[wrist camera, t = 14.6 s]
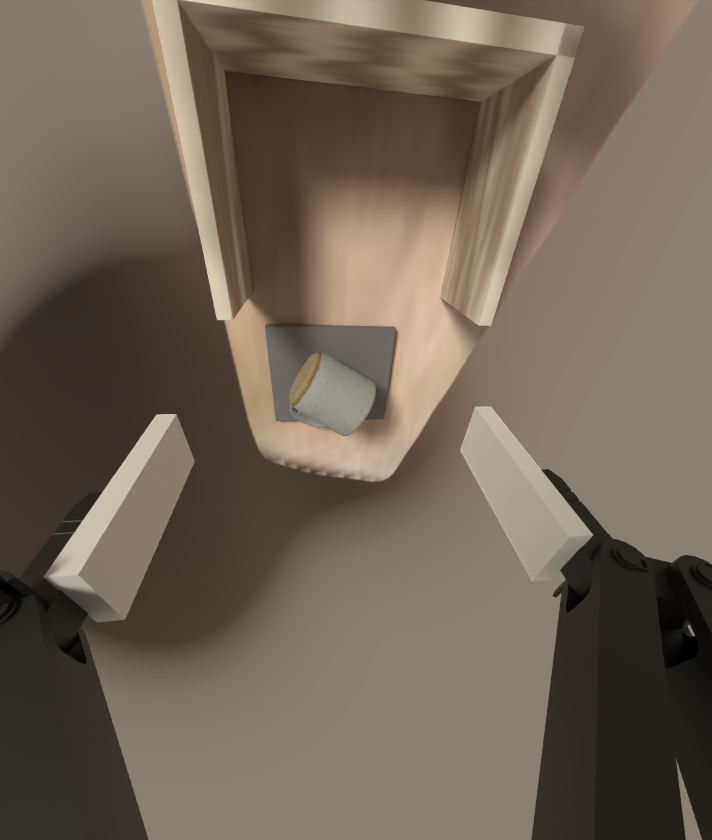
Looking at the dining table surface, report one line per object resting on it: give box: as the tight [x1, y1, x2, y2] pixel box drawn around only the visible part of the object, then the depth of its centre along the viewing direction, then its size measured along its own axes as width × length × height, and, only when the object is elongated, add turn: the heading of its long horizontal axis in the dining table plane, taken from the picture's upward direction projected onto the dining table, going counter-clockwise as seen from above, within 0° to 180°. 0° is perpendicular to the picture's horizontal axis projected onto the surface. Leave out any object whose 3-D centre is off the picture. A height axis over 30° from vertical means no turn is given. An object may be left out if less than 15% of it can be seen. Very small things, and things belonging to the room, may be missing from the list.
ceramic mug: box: [288, 352, 376, 436], centre depth 36 cm, size 11×8×8 cm
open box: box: [152, 0, 585, 326], centre depth 25 cm, size 23×17×10 cm
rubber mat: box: [265, 324, 396, 421], centre depth 39 cm, size 15×13×1 cm
